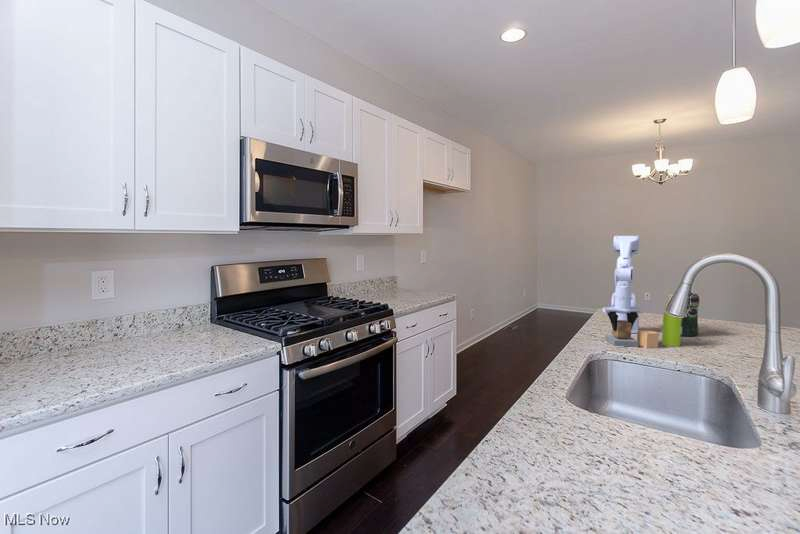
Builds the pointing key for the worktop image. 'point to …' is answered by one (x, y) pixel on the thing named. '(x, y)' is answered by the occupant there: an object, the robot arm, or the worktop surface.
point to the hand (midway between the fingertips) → (621, 330)
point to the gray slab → (621, 341)
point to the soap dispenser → (671, 330)
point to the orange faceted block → (648, 338)
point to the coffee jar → (691, 318)
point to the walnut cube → (622, 329)
